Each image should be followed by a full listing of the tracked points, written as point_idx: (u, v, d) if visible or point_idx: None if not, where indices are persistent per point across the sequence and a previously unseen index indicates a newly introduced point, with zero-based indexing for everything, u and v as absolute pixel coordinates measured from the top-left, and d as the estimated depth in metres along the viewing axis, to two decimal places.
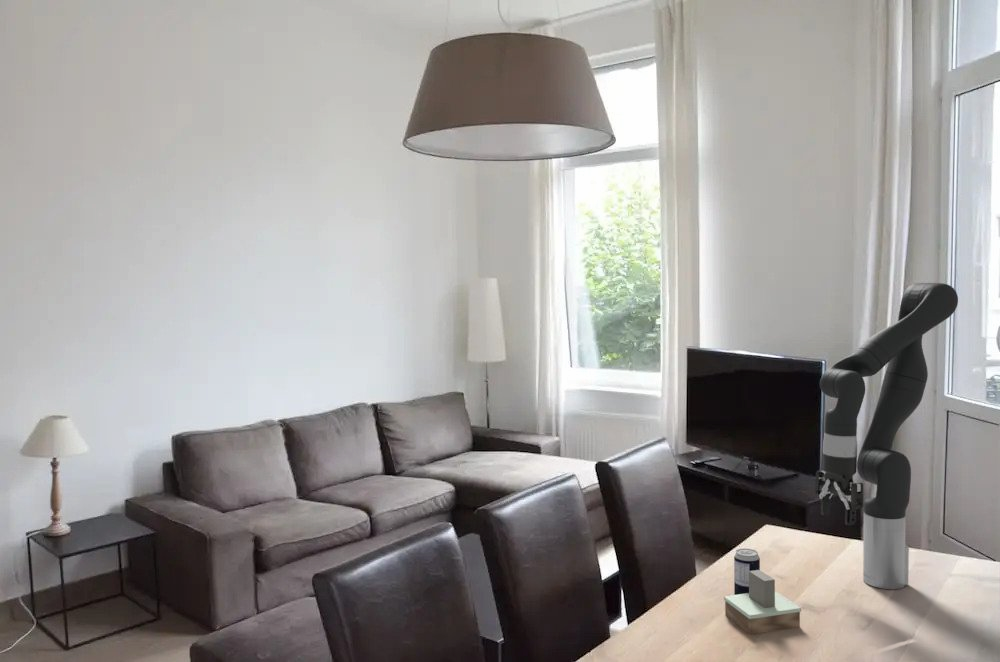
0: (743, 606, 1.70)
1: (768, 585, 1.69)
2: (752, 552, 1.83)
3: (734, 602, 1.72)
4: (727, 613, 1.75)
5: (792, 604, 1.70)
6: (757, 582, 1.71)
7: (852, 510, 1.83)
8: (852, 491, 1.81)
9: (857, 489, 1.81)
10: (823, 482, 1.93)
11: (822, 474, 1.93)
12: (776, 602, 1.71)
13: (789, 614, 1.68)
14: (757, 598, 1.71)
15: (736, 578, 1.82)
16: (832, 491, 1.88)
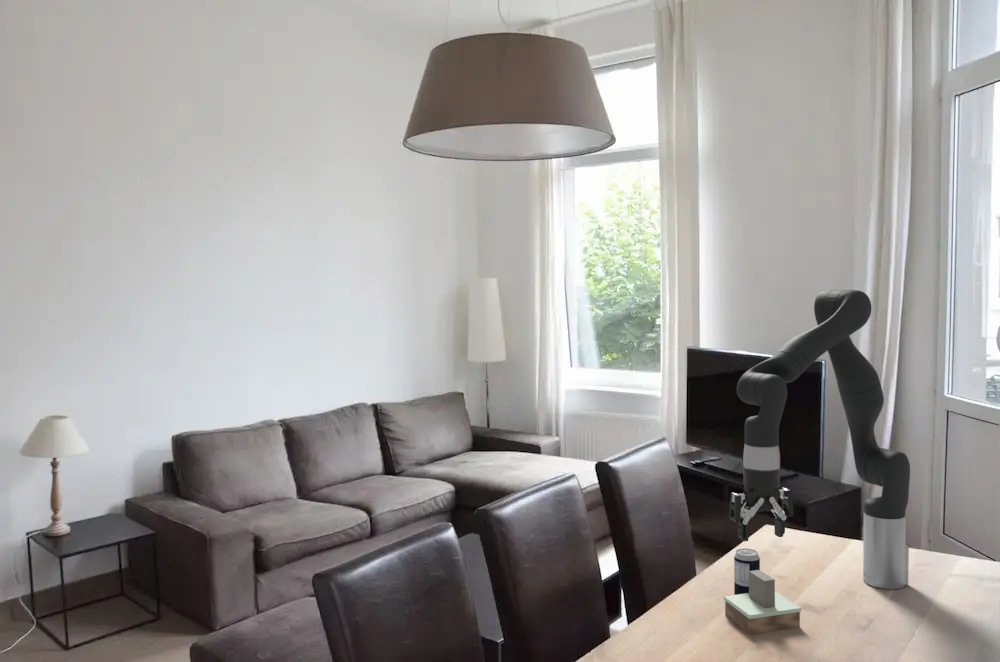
0: (743, 606, 1.70)
1: (768, 585, 1.69)
2: (752, 552, 1.83)
3: (734, 602, 1.72)
4: (727, 613, 1.75)
5: (792, 604, 1.70)
6: (757, 582, 1.71)
7: None
8: (789, 498, 1.71)
9: None
10: None
11: (740, 497, 1.69)
12: (776, 602, 1.71)
13: (789, 614, 1.68)
14: (757, 598, 1.71)
15: (736, 578, 1.82)
16: (761, 509, 1.69)
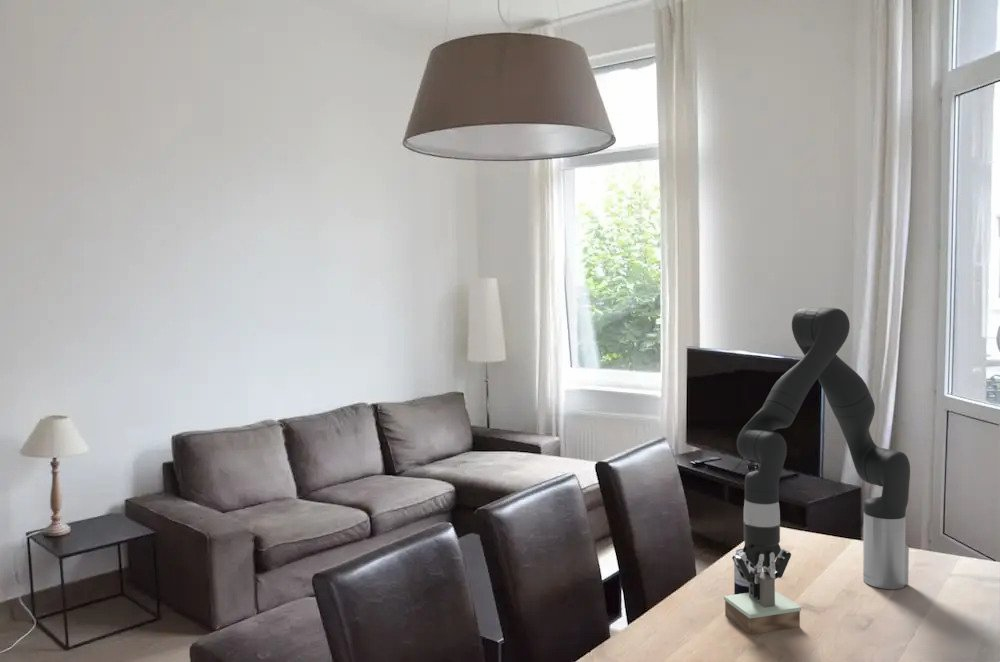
0: (743, 606, 1.70)
1: (767, 584, 1.69)
2: None
3: (734, 602, 1.72)
4: (727, 613, 1.75)
5: (792, 603, 1.70)
6: None
7: None
8: (785, 560, 1.71)
9: None
10: None
11: (742, 558, 1.70)
12: (776, 602, 1.71)
13: (789, 614, 1.68)
14: None
15: (736, 578, 1.82)
16: (765, 561, 1.70)
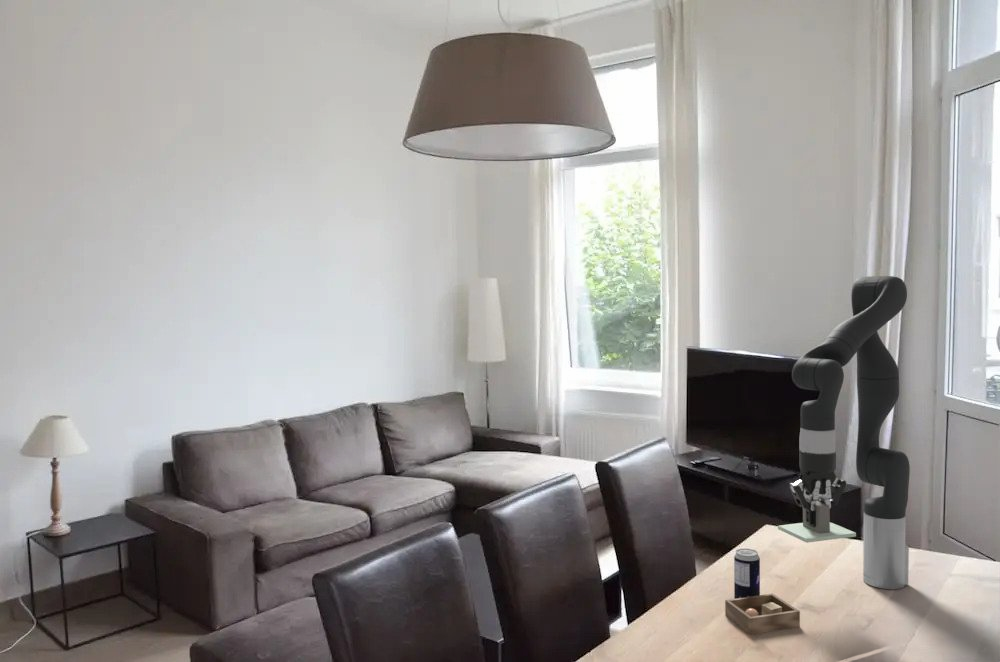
0: (798, 532, 1.73)
1: (823, 510, 1.72)
2: (752, 552, 1.83)
3: (789, 529, 1.75)
4: (727, 613, 1.75)
5: (846, 530, 1.73)
6: None
7: None
8: (841, 488, 1.74)
9: None
10: None
11: (798, 485, 1.72)
12: (831, 529, 1.74)
13: (789, 614, 1.68)
14: None
15: (736, 578, 1.82)
16: (821, 489, 1.73)
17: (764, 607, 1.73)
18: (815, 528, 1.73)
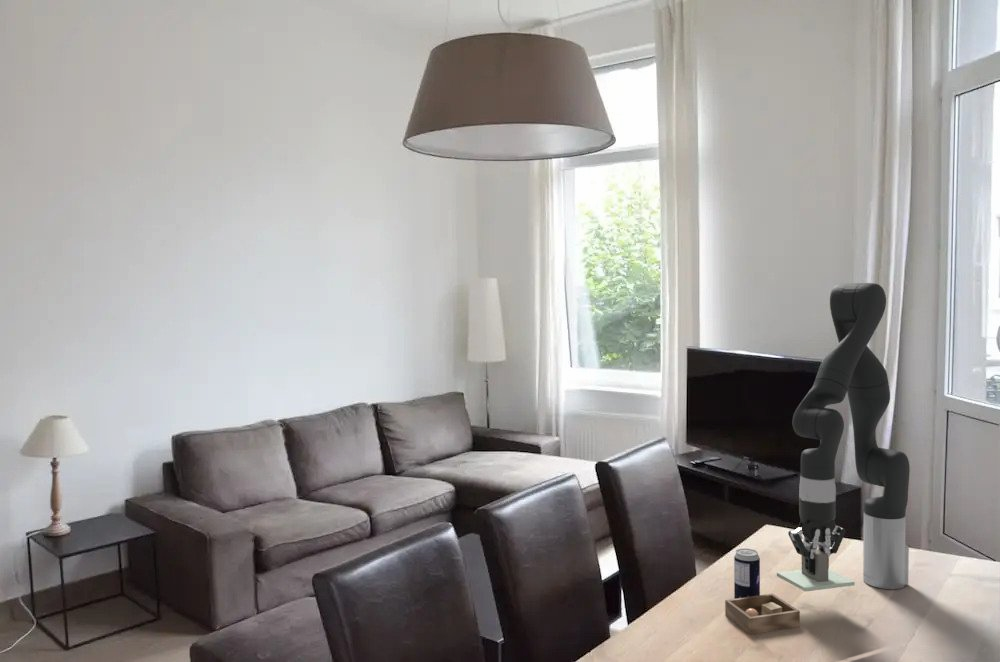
0: (797, 580, 1.74)
1: (821, 559, 1.73)
2: (752, 552, 1.83)
3: (788, 577, 1.76)
4: (727, 613, 1.75)
5: (845, 578, 1.74)
6: None
7: None
8: (840, 536, 1.75)
9: None
10: None
11: (798, 533, 1.73)
12: (829, 577, 1.75)
13: (789, 614, 1.68)
14: None
15: (736, 578, 1.82)
16: (821, 537, 1.74)
17: (764, 607, 1.73)
18: (814, 576, 1.74)
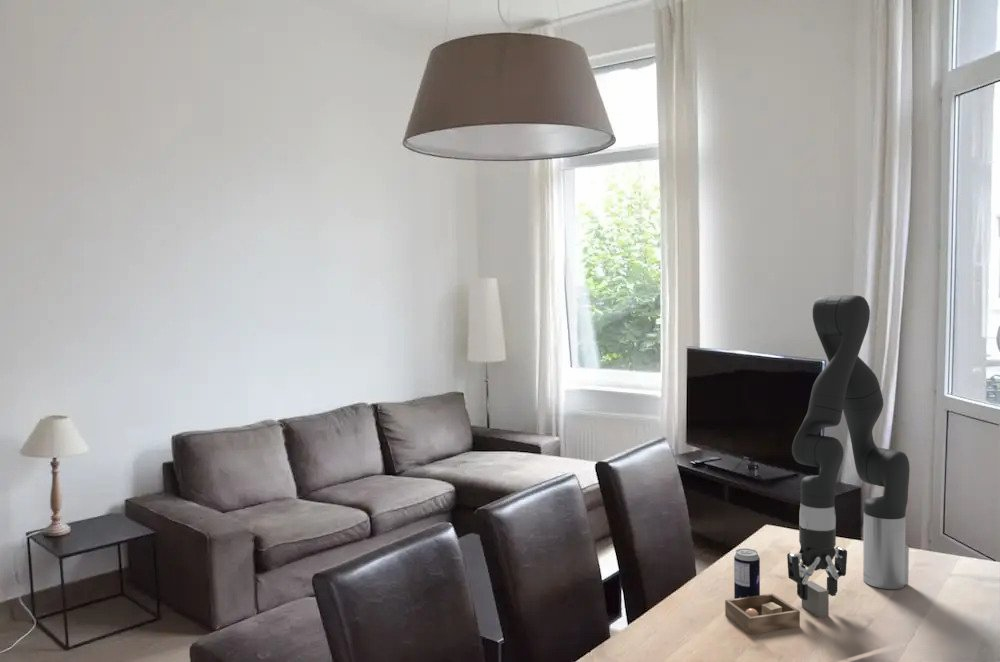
0: None
1: (822, 596, 1.73)
2: (752, 552, 1.83)
3: None
4: (727, 613, 1.75)
5: None
6: (811, 593, 1.75)
7: None
8: (844, 558, 1.75)
9: None
10: None
11: (797, 557, 1.73)
12: None
13: (789, 614, 1.68)
14: (811, 609, 1.76)
15: (736, 578, 1.82)
16: (818, 567, 1.74)
17: (764, 607, 1.73)
18: (814, 612, 1.75)
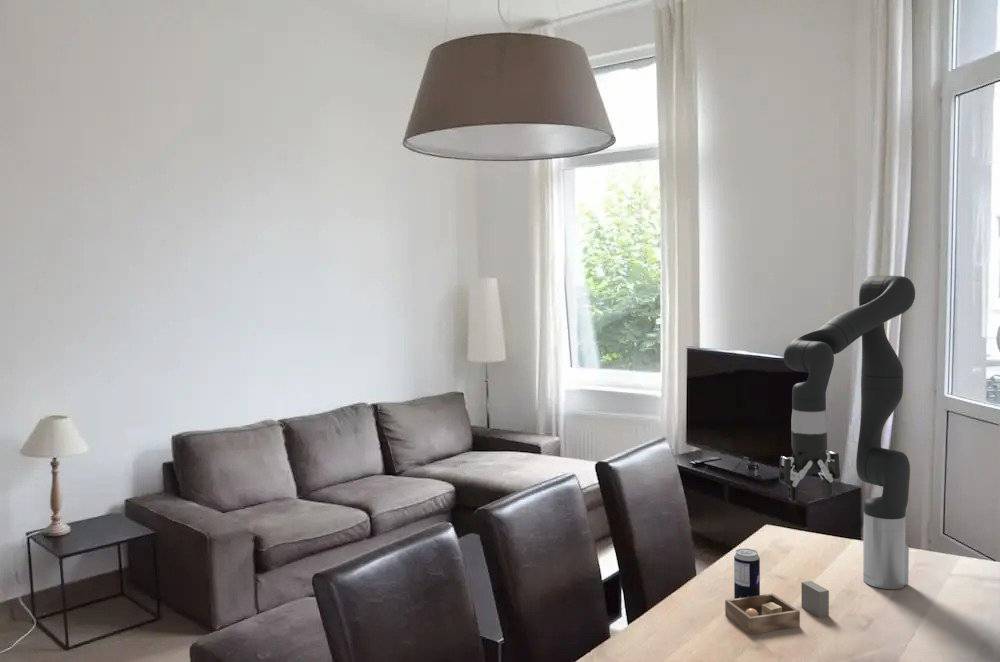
0: None
1: (822, 595, 1.73)
2: (752, 552, 1.83)
3: None
4: (727, 613, 1.75)
5: None
6: (811, 593, 1.75)
7: None
8: (836, 461, 1.77)
9: None
10: None
11: None
12: None
13: (789, 614, 1.68)
14: (811, 609, 1.76)
15: (736, 578, 1.82)
16: (809, 472, 1.76)
17: (764, 607, 1.73)
18: (814, 612, 1.75)
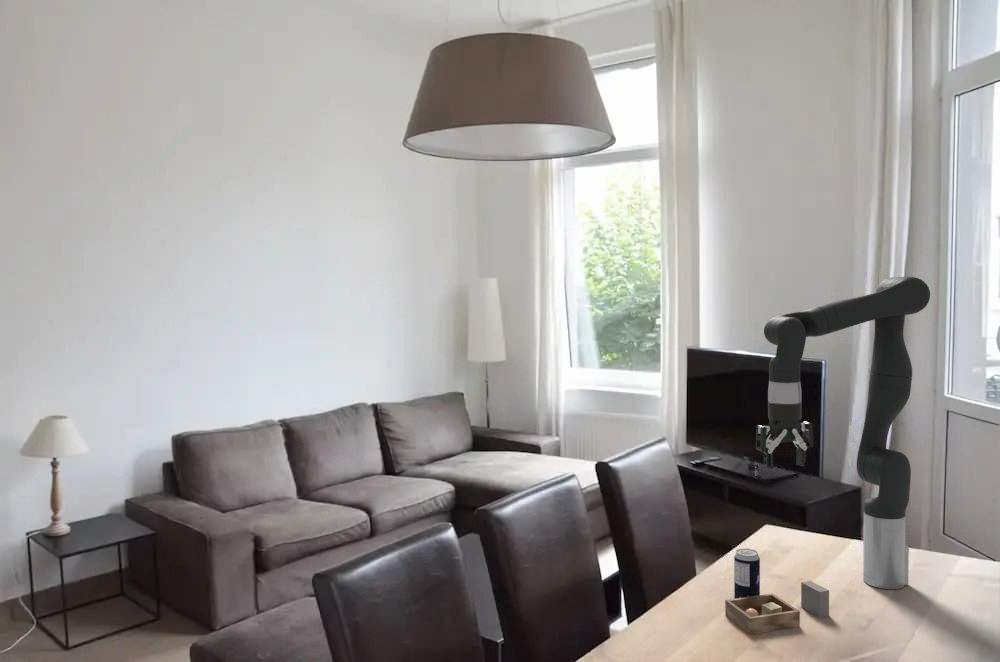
0: None
1: (823, 595, 1.73)
2: (752, 552, 1.83)
3: None
4: (727, 613, 1.75)
5: None
6: (811, 593, 1.75)
7: None
8: (810, 431, 1.89)
9: None
10: None
11: None
12: None
13: (789, 614, 1.68)
14: (811, 609, 1.76)
15: (736, 578, 1.82)
16: (784, 440, 1.87)
17: (764, 607, 1.73)
18: (814, 612, 1.75)
